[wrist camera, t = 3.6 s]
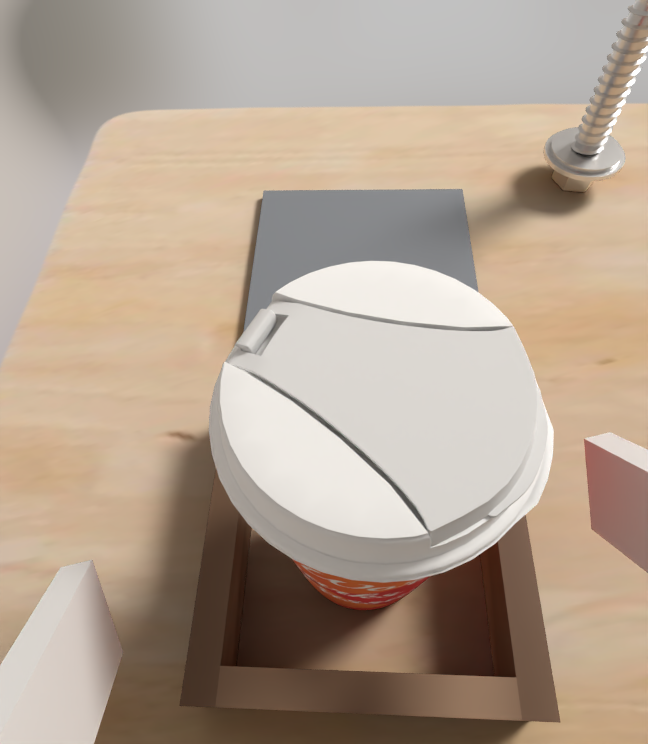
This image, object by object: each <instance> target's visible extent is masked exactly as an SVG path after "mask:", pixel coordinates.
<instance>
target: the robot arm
mask: <svg viewBox="0 0 648 744" xmlns="http://www.w3.org/2000/svg"><path fill="white" fill-rule="evenodd" d="M584 443H585V455H586V467H587V480H588V492H589V505H590V517H591V529H592V530H594V531H595V532H596V533H597V534H599V535H600V536H601V537H603V538H604V539H605V540H606V541H608V542H609V543H610V544H612V545H613V546H614V547H615V548H617V549H618V550H619V551H621V552H622V553H623V554H624V555H626V556H627V557H628V558H629V559H631V560H632V561H633V562H635V563H636V564H637V565H638V566H640V567H641V568H642V569H644V570H645V571H646V572H647V573H648V450H647V449H645V448H643V447H641V446H638V445H636V444H634V443H632V442H630V441H628V440H626V439H624V438H621V437H619V436H617V435H615V434H613V433H611V432H609V433H605V434H601V435H597V436H593V437H589V438H585V439H584ZM122 655H123V650H122V647H121V644H120V641H119V638H118V635H117V632H116V629H115V626H114V623H113V620H112V617H111V614H110V611H109V608H108V605H107V602H106V599H105V596H104V593H103V590H102V587H101V584H100V581H99V578H98V575H97V572H96V569H95V566H94V563H93V560H89V561H84V562H80V563H76V564H72V565H68V566H64V567H61V568H60V569H59V571H58V572H57V574H56V576H55V577H54V579H53V581H52V582H51V584H50V585H49V587H48V589H47V590H46V592H45V594H44V595H43V597H42V598H41V600H40V602H39V603H38V605H37V606H36V608H35V610H34V611H33V613H32V615H31V616H30V618H29V619H28V621H27V623H26V624H25V626H24V628H23V629H22V631H21V632H20V634H19V636H18V637H17V639H16V641H15V642H14V644H13V645H12V647H11V649H10V650H9V652H8V654H7V655H6V657H5V658H4V660H3V662H2V663H1V665H0V744H94V742H95V739H96V736H97V733H98V730H99V726H100V723H101V720H102V717H103V714H104V711H105V708H106V705H107V702H108V698H109V695H110V692H111V689H112V686H113V683H114V680H115V677H116V674H117V670H118V667H119V664H120V661H121V658H122Z"/></svg>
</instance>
